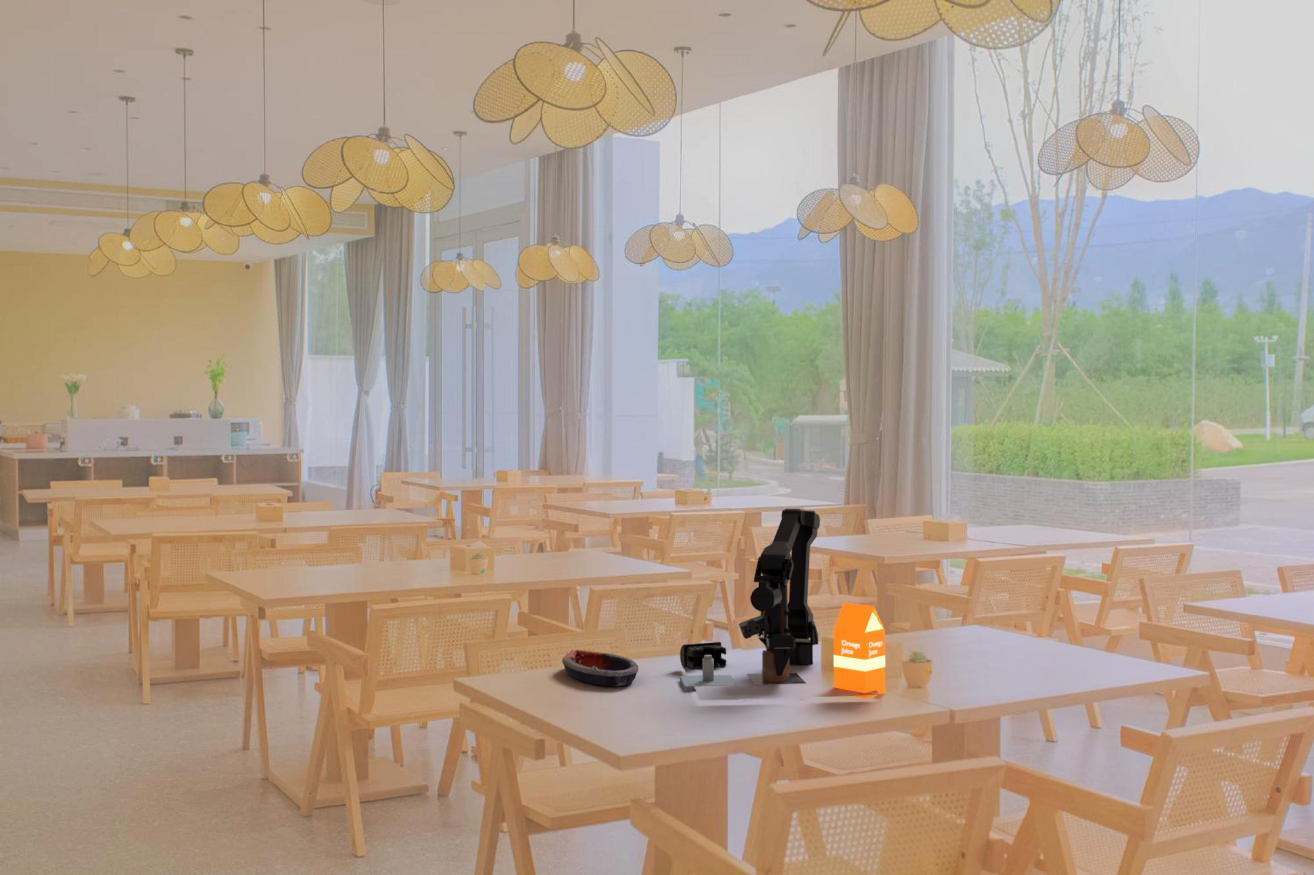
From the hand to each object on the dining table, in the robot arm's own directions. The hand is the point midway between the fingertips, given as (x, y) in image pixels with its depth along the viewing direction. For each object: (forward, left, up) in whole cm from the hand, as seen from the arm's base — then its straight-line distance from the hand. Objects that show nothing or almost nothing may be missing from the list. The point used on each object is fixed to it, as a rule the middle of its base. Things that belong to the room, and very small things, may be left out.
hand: (775, 672), depth 292 cm
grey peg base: (+16, 0, -3) cm, 16 cm away
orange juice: (-17, +12, -3) cm, 21 cm away
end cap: (+15, -18, -3) cm, 24 cm away
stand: (0, 0, -3) cm, 3 cm away
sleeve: (0, 0, -2) cm, 2 cm away
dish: (+41, -13, -3) cm, 43 cm away
